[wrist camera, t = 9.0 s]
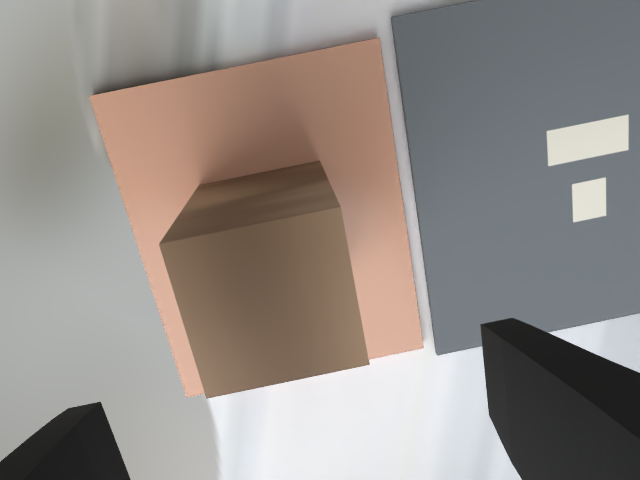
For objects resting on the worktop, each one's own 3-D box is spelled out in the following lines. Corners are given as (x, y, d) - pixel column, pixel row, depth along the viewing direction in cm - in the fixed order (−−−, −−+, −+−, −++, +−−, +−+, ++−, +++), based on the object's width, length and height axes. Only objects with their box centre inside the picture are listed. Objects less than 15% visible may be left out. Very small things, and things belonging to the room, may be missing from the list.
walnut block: (319, 160, 17) (340, 207, 11) (341, 272, 18) (369, 364, 13) (198, 185, 17) (158, 244, 11) (228, 295, 18) (206, 398, 12)
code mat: (769, -58, 16) (775, -60, 16) (740, 289, 20) (745, 291, 20) (391, 17, 16) (392, 17, 16) (436, 352, 20) (437, 355, 20)
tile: (377, 38, 16) (379, 37, 16) (421, 344, 20) (423, 348, 19) (92, 95, 16) (88, 95, 16) (187, 392, 20) (186, 397, 19)
